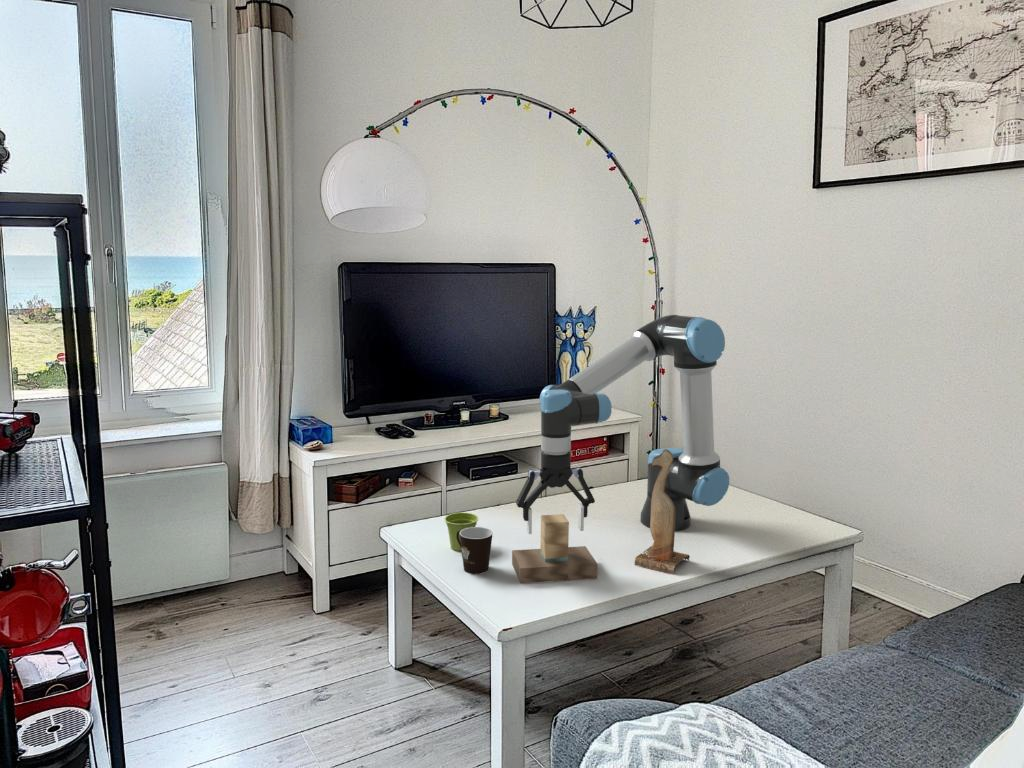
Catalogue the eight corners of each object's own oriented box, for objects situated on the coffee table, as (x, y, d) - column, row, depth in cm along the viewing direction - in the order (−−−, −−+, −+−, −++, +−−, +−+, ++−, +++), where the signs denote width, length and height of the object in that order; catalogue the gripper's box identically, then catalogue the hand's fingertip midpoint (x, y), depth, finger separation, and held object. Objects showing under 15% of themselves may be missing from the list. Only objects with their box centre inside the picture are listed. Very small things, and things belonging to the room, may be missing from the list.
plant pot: (474, 555, 215) (474, 524, 213) (440, 552, 217) (440, 522, 215) (481, 542, 224) (481, 513, 222) (449, 540, 226) (449, 511, 224)
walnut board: (585, 560, 212) (585, 546, 211) (597, 578, 200) (597, 563, 200) (512, 564, 209) (512, 550, 208) (520, 583, 197) (520, 568, 196)
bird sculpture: (649, 553, 218) (649, 441, 213) (690, 560, 212) (691, 445, 207) (634, 567, 209) (634, 450, 203) (676, 575, 203) (677, 455, 197)
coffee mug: (496, 573, 203) (496, 537, 201) (463, 577, 200) (463, 540, 199) (484, 556, 214) (485, 521, 212) (453, 560, 211) (453, 524, 210)
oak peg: (562, 564, 208) (563, 514, 205) (568, 574, 202) (569, 522, 200) (540, 565, 207) (540, 515, 204) (544, 575, 201) (545, 523, 199)
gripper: (599, 445, 205) (598, 522, 208) (504, 449, 200) (505, 528, 204) (607, 452, 197) (606, 532, 201) (509, 457, 193) (509, 539, 197)
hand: (555, 530), depth 203 cm, fingers open, 13 cm apart
